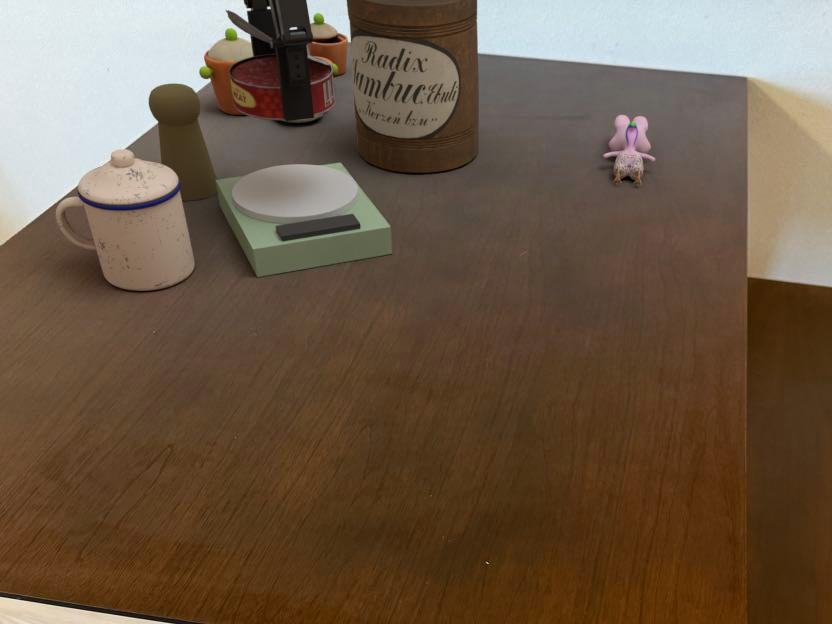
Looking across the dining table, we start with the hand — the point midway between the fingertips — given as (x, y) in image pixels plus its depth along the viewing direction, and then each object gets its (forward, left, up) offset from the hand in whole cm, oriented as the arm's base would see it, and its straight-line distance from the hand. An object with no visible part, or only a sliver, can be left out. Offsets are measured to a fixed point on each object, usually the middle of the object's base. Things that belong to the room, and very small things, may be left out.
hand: (284, 99), depth 95 cm
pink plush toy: (-3, +42, -13) cm, 44 cm away
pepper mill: (-13, -9, -13) cm, 20 cm away
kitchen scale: (+1, 0, -13) cm, 13 cm away
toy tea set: (-39, +9, -13) cm, 42 cm away
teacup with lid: (+4, -18, -13) cm, 23 cm away
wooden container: (-15, +19, -13) cm, 27 cm away
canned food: (0, 0, 0) cm, 0 cm away
